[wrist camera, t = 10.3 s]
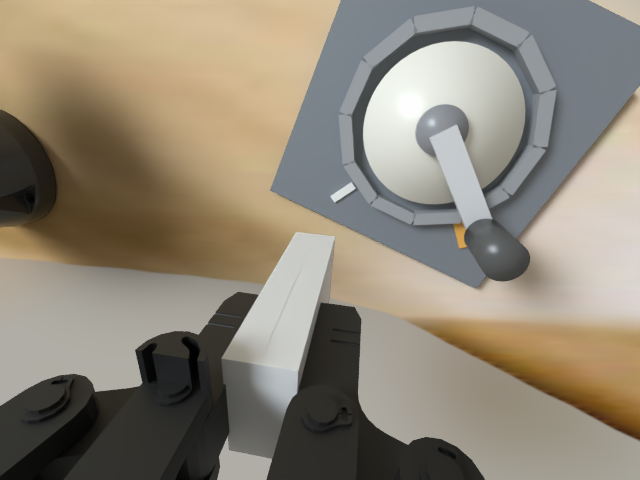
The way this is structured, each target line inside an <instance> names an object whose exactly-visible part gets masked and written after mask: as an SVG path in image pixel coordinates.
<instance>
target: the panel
mask: <svg viewBox="0 0 640 480" xmlns="http://www.w3.org/2000/svg"><path fill="white" fill-rule="evenodd" d="M451 41H460V42H469V43H473V44H477V45H480V46H483V47H485V48H487V49H489V50H491V51H493V52H494V53H496V54H498V55H499V56H500V57H501V58H502V59H503V60H504V61H506V62H507V64H508V65H509V66H510V67H511V68H512V70H513V71H514V73H515V75H516V76H517V78H518V80H519V83H520V85H521V88H522V91H523V95H524V100H525V124H524V129H523V134H522V137H521V140H520V143H519V145H518V147H517V150H516V152H515V154H514V156H513V157H512V159H511V160H510V162H509V163H508V165H507V166H506V167H505V169H504V170H503V171H502V172H501V173H500V174H499V175H498V176H497V177H496V178H495V179H494V180H493V181H492V182H491V183H490V184H488V185H487V186H486V187H485V188H483V189H481V190H482V193H483V195H484V198H485V201H486V204H487V206H488V209H489V212H490V214H491V217H492V219H493V220H496V221H497V222H499V223H500V224H501V225H502V226H503V227H504V228H505V229H506V230H507V231H508V232H509V233H510V234H512V235H513V236H514V237H515V238H517V237H518V236H519V235H520V233H521V232H522V231H523V230H524V229H525V227H526V226H527V225H528V224H529V222H530V221H531V220H532V219H533V217H534V216H535V215H536V214H537V212H538V211H539V210H540V209H541V207H542V206H543V205H544V204H545V202H546V201H547V200H548V199H549V197H550V196H551V195H552V194H553V193H554V191H555V190H556V189H557V188H558V186H559V185H560V184H561V183H562V181H563V180H564V179H565V178H566V176H567V175H568V174H569V173H570V171H571V170H572V169H573V168H574V166H575V165H576V164H577V163H578V161H579V160H580V159H581V158H582V157H583V155H584V154H585V153H586V152H587V150H588V149H589V148H590V147H591V145H592V144H593V143H594V142H595V140H596V139H597V138H598V137H599V135H600V134H601V133H602V132H603V130H604V129H605V128H606V127H607V125H608V124H609V123H610V122H611V120H612V119H613V118H614V117H615V116H616V114H617V113H618V112H619V111H620V109H621V108H622V107H623V106H624V104H625V103H626V102H627V101H628V99H629V98H630V97H631V96H632V94H633V93H634V92H635V91H636V89H637V88H638V87H639V86H640V26H639V25H637V24H635V23H633V22H631V21H629V20H627V19H625V18H623V17H621V16H619V15H617V14H615V13H613V12H611V11H609V10H607V9H605V8H603V7H601V6H599V5H597V4H595V3H593V2H591V1H589V0H341V2H340V4H339V7H338V10H337V12H336V15H335V18H334V21H333V23H332V26H331V29H330V31H329V34H328V37H327V39H326V42H325V45H324V47H323V50H322V53H321V55H320V58H319V61H318V63H317V66H316V69H315V71H314V74H313V77H312V79H311V82H310V85H309V87H308V90H307V93H306V96H305V98H304V101H303V104H302V106H301V109H300V112H299V114H298V117H297V120H296V122H295V125H294V128H293V130H292V133H291V136H290V138H289V141H288V144H287V146H286V149H285V152H284V154H283V157H282V160H281V163H280V165H279V168H278V171H277V173H276V176H275V179H274V181H273V184H272V187H271V189H270V191H272V192H275V193H277V194H279V195H281V196H283V197H285V198H287V199H289V200H291V201H293V202H296V203H298V204H300V205H302V206H304V207H306V208H308V209H310V210H312V211H314V212H317V213H319V214H321V215H323V216H325V217H327V218H329V219H331V220H333V221H335V222H338V223H340V224H342V225H344V226H346V227H348V228H350V229H352V230H354V231H356V232H358V233H361V234H363V235H365V236H367V237H369V238H371V239H373V240H375V241H377V242H379V243H382V244H384V245H386V246H388V247H390V248H392V249H394V250H396V251H398V252H400V253H403V254H405V255H407V256H409V257H411V258H413V259H415V260H417V261H419V262H421V263H424V264H426V265H428V266H430V267H432V268H434V269H436V270H438V271H440V272H442V273H445V274H447V275H449V276H451V277H453V278H455V279H457V280H459V281H461V282H463V283H466V284H468V285H470V286H472V287H474V288H477V287H478V286H479V284H480V283H481V282H482V281H483V279H484V278H485V277H486V275H485V274H484V273H483V271H482V269H481V268H480V266H479V265H478V263H477V262H476V260H475V259H474V257H473V255H472V254H471V252H470V251H469V249H468V248H467V246H466V244H465V242H464V234H465V231H466V230H465V228H464V225H463V223H462V220H461V218H460V215H459V213H458V210H457V208H456V206H455V203H454V202H450V203H445V204H422V203H417V202H413V201H409V200H407V199H404V198H402V197H400V196H398V195H396V194H395V193H393V192H392V191H390V190H389V189H388V188H387V187H385V185H384V184H383V183H382V182H381V181H380V180H379V179H378V178H377V176H376V175H375V174H374V172H373V170H372V168H371V166H370V164H369V162H368V159H367V157H366V153H365V148H364V141H363V126H364V119H365V114H366V111H367V107H368V104H369V102H370V99H371V97H372V95H373V93H374V91H375V89H376V88H377V86H378V85H379V83H380V82H381V80H382V79H383V77H384V76H385V75H386V74H387V73H388V72H389V71H390V70H391V69H392V68H393V67H394V66H395V65H396V64H397V63H398V62H400V61H401V60H402V59H404V58H405V57H407V56H408V55H410V54H411V53H413V52H415V51H417V50H419V49H421V48H424V47H427V46H429V45H432V44H437V43H441V42H451Z"/></svg>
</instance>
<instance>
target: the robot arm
mask: <svg viewBox="0 0 640 480" xmlns="http://www.w3.org/2000/svg"><path fill="white" fill-rule="evenodd" d="M55 195H56V183H55V177H54V173H53V170H52V167H51V164H50V162H49V159H48V157H47V155H46V154H45V152H44V150H43V148H42V147H41V145H40V144H39V142H38V141H37V140H36V138H35V137H34V136H33V135H32V134H31V133H30V131H29V130H28V129H27V128H26V127H25V126H24V125H22V124H21V123H20V122H19V121H18V120H16V119H15V118H14V117H12V116H11V115H9V114H8V113H6V112H4V111H2V110H0V227H12V226H19V225H23V224H27V223H30V222H33V221H36V220H38V219H41V218H42V217H44V216H45V215H46V214H47V213H48V212H49V211H50V210H51V208H52V206H53V204H54V201H55ZM334 244H335V236H327V235H318V234H309V233H301V232H296V233H295V235H294V237H293V238H292V240H291V242H290V243H289V245H288V247H287V248H286V250H285V252H284V253H283V255H282V257H281V258H280V260H279V262H278V264H277V265H276V267H275V269H274V270H273V272H272V274H271V275H270V277H269V279H268V280H267V282H266V284H265V286H264V288H263V289H262V291H261V292H260V294H259V295H255V294H249V293H242V292H237V293H236V294H234V295H233V296H231V297H230V298H228V299H226V300H225V301H224V302H223V303H222V305H221V306H220V307H219V309H218V310H217V311H216V314H215V315H213V317H212V318H211V319H210V321H209V322H208V325H206V326H205V327H204V329H203V330H202V331H201V333H200V334H199V335H197V334H194V333H191V332H183V331H180V332H179V331H174V332H170V333H166V334H161V335H159V336H156V337H154V338H152V339H150V340H148V341H146V342H145V343H143V344H142V345H141V346H140V347H138V348H137V349H136V350H135V351H136V356H137V360H138V364H139V369H140V373H141V378H142V382H143V383H142V385H141V386H139V387H133V388H127V389H118V390H109V391H100V392H95V390H94V388H93V384H92V382H91V381H90V380H88V378H87V377H85V376H81V375H77V374H70V375H60V376H57V377H54V378H51V379H47V380H44V381H41V382H40V383H38V384H36V385H34V386H32V387H30V388H28V389H26V390H25V391H23V392H22V393H20V394H18V395H17V396H15V397H14V398H12V399H11V400H9V401H7V402H6V403H4V404H3V405H1V406H0V480H217V477H218V473H219V468H220V463H219V455H220V452H221V450H222V448H223V445H224V443H225V441H226V439H227V436H228V441H229V450H232V451H237V452H242V453H247V454H252V455H257V456H262V457H267V458H272V463H271V466H270V470H269V473H268V476H267V480H485V479H484V477H483V476H482V474H481V473H480V471H479V470H478V468H477V467H476V465H475V464H474V463H473V461H472V460H471V459H470V458H469V457H468V456H467V455H465V454H464V453H463V452H462V451H461V450H460V449H459V448H457V447H456V446H454V445H452V444H450V443H448V442H446V441H443V440H441V439H436V438H429V437H425V438H421V439H417V440H413V441H412V442H411V443H410V444H409V445H407V444H405V443H403V442H401V441H399V440H397V439H395V438H393V437H391V436H389V435H388V434H386V433H384V432H383V431H381V430H380V429H378V428H376V427H375V426H374V425H373V424H372V423H371V422H370V421H369V420H368V419H367V417H366V416H365V414H364V413H363V411H362V409H361V406H360V404H359V400H358V378H359V357H360V334H361V318H360V316H359V314H358V313H357V311H356V309H355V307H349V306H342V305H335V304H328V303H329V298H330V289H331V277H332V266H333V255H334Z"/></svg>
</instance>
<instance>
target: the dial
mask: <svg viewBox="0 0 640 480" xmlns="http://www.w3.org/2000/svg"><path fill="white" fill-rule="evenodd" d="M524 124H525V100H524V95H523V91H522V88H521V85H520V83H519V80H518V78H517V76H516V75H515V73H514V71H513V70H512V68H511V67H510V66H509V65H508V64H507V62H506V61H504V60H503V59H502V58H501V57H500V56H499V55H498V54H496V53H494V52H493V51H491V50H489V49H487V48H485V47H483V46H480V45H477V44H473V43H469V42H460V41H451V42H441V43H437V44H432V45H429V46H427V47H424V48H421V49H419V50H417V51H415V52H413V53H411V54H410V55H408V56H407V57H405V58H404V59H402V60H401V61H400V62H398V63H397V64H396V65H395V66H394V67H393V68H392V69H391V70H390V71H389V72H388V73H387V74H386V75H385V76H384V77H383V79H382V80H381V82H380V83H379V85H378V86H377V88H376V89H375V91H374V93H373V95H372V97H371V99H370V102H369V104H368V107H367V111H366V114H365V119H364V126H363V141H364V148H365V153H366V157H367V159H368V162H369V164H370V166H371V168H372V170H373V172H374V174H375V175H376V176H377V178H378V179H379V180H380V181H381V182H382V183H383V184H384V185H385V187H387V188H388V189H389V190H390V191H392V192H393V193H395V194H396V195H398V196H400V197H402V198H404V199H407V200H409V201H413V202H417V203H422V204H445V203H450V202H454V203H455V206H456V208H457V210H458V213H459V215H460V218H461V220H462V223H463V225H464V228H465V230H466V231H465V234H464V242H465V244H466V246H467V248H468V249H469V251H470V252H471V254H472V255H473V257H474V259H475V260H476V262H477V263H478V265H479V266H480V268H481V269H482V271H483V273H484V274H485V275H486V276H487V277H489V278H490V279H493V280H496V281H509V280H512V279H515V278H517V277H519V276H520V275H521V274H523V273H524V272H525V270H526V269H527V267H528V265H529V262H530V255H529V252H528V250H527V249H526V248H525V247H524V246H523V245H522V244H521V243H520V242H519V241H518V240H517V239H516V238H515V237H514V236H513V235H512V234H510V233H509V232H508V231H507V230H506V229H505V228H504V227H503V226H502V225H501V224H500V223H499V222H497V221H496V220H493V219H492V217H491V214H490V212H489V209H488V206H487V204H486V201H485V198H484V195H483V193H482V190H481V189H483V188H485V187H486V186H487V185H488V184H490V183H491V182H492V181H493V180H494V179H495V178H496V177H497V176H498V175H499V174H500V173H501V172H502V171H503V170H504V169H505V167H506V166H507V165H508V163H509V162H510V160H511V159H512V157H513V156H514V154H515V152H516V150H517V147H518V145H519V143H520V140H521V137H522V134H523V129H524Z"/></svg>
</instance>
